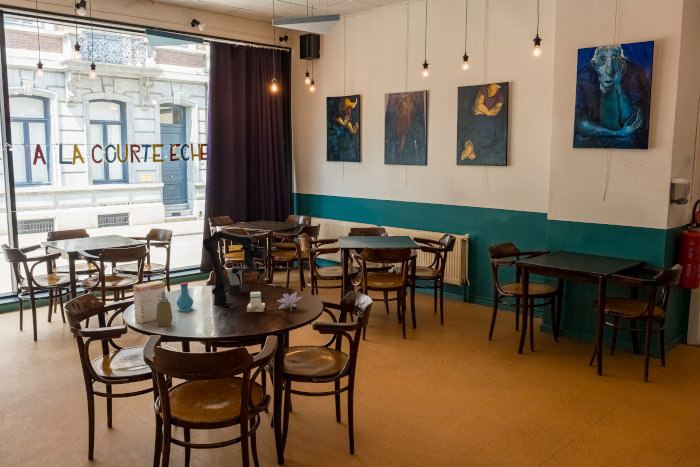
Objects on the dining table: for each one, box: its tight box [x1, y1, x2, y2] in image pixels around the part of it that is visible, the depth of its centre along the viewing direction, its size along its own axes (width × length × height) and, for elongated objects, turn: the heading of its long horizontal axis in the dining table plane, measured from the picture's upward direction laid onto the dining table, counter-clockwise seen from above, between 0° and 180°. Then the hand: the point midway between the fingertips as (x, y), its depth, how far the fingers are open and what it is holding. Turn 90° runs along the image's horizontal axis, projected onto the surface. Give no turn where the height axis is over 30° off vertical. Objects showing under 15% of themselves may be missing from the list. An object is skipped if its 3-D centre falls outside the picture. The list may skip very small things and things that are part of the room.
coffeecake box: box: [132, 280, 166, 324], centre depth 321 cm, size 15×7×20 cm, turn 134°
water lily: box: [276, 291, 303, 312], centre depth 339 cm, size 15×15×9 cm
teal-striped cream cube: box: [249, 291, 262, 307], centre depth 339 cm, size 6×6×7 cm
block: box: [246, 302, 266, 313], centre depth 340 cm, size 9×9×3 cm
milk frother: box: [226, 268, 245, 296], centre depth 379 cm, size 14×16×15 cm
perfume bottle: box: [175, 282, 194, 312], centre depth 341 cm, size 9×9×15 cm
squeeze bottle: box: [155, 291, 173, 328], centre depth 309 cm, size 8×8×18 cm
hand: (249, 284), depth 345 cm, fingers open, 9 cm apart
